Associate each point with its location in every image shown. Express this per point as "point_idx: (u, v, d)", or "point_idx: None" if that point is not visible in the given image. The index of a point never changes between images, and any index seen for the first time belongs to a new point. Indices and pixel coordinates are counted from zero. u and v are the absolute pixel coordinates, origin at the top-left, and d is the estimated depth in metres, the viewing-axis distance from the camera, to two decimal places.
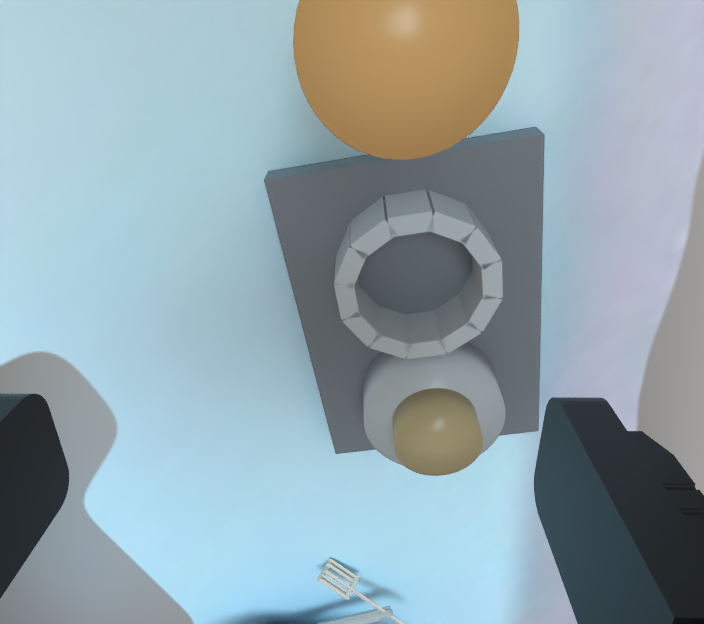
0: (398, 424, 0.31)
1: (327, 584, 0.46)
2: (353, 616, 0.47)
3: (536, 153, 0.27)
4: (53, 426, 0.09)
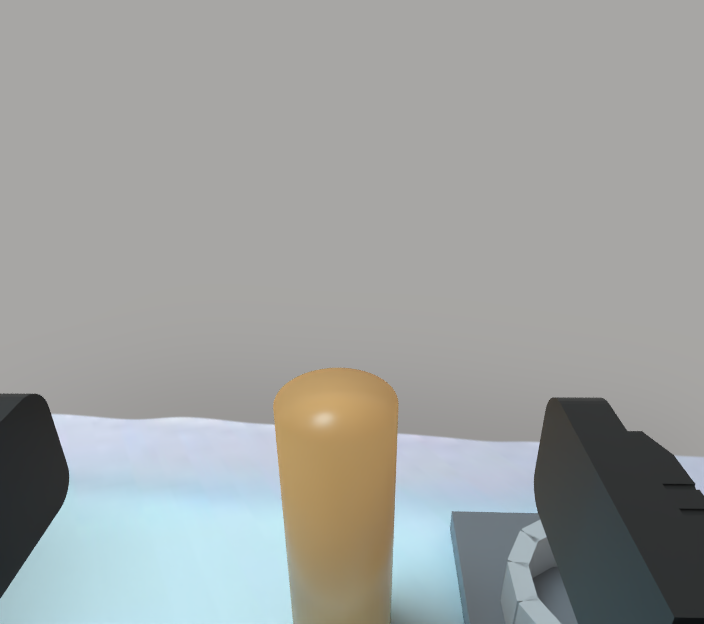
0: None
1: None
2: None
3: (466, 516, 0.33)
4: (53, 426, 0.09)
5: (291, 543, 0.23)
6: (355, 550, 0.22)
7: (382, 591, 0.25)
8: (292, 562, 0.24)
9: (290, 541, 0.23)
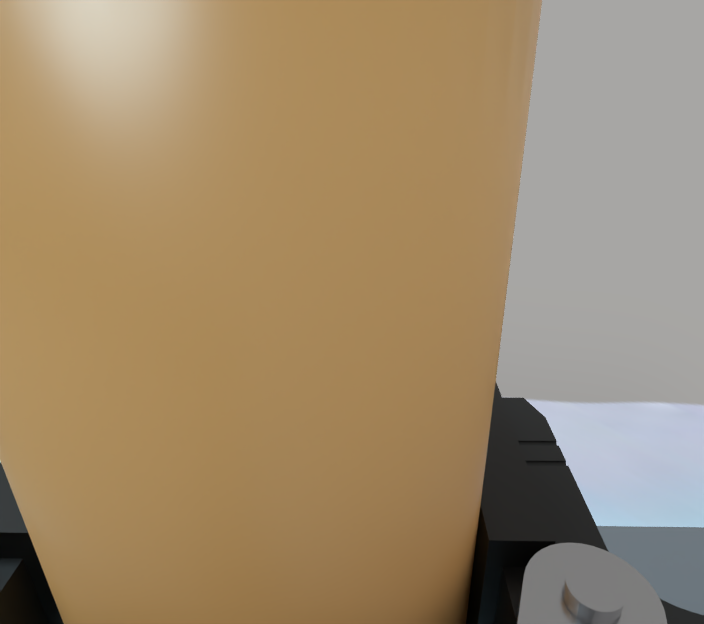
0: None
1: None
2: None
3: None
4: None
5: None
6: None
7: None
8: None
9: None
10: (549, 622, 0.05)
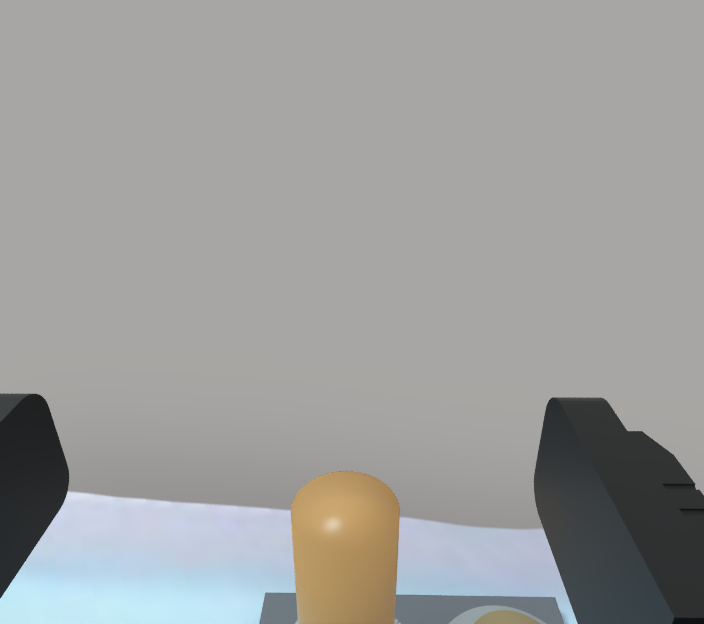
0: None
1: None
2: None
3: (277, 597, 0.37)
4: (53, 426, 0.09)
5: None
6: None
7: None
8: None
9: None
10: None
